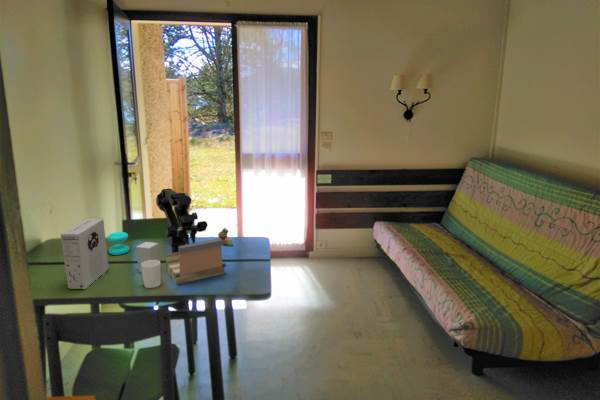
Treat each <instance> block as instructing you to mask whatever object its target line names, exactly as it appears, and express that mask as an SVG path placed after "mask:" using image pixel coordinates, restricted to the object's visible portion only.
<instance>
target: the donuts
mask: <svg viewBox="0 0 600 400" xmlns="http://www.w3.org/2000/svg"><path fill="white" fill-rule="evenodd" d="M106 238H107V239H106V240H107V241H108V242H110V243H113V244H114V243H116V244H114V245H112V246H110V247H109V249H108V253H109V254H110V255H112V256H122V255H125V254H127V253H128V252H130V249H131V248H130V246H129V245H127V244H124V243H122V242H125V241H127V240H128V238H129V234H128V233H127V232H125V231H115V232H112V233H109V234H108V235H107V237H106ZM117 243H118V244H117ZM121 254H122V255H121Z"/></svg>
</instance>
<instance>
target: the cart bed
mask: <svg viewBox="0 0 600 400" xmlns="http://www.w3.org/2000/svg"><path fill="white" fill-rule="evenodd" d="M165 264H166V265H165V266H166V273H167V274H168V275H169V276H170V277H171V278H172V280H173V281H174V283H175V284H176V285H180V284H181V285H182V284H185V283H189V282H190V283H191V282H194V281H198V280H202V279H207V278H211V277H212V278H213V277H214V276H219V275H225V267H227V263H226V262H224V263H223V262H222V266H221V267H216V268H212V269H207V270H203V271H198V272H194V273H189V274H184V275H180V267H179V253H178V252H176V253H172V252H171V253H167V254H165Z"/></svg>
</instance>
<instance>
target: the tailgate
mask: <svg viewBox="0 0 600 400" xmlns="http://www.w3.org/2000/svg"><path fill="white" fill-rule="evenodd" d="M222 246H223V240H222V239H220V238H219V237H218V238H213V239H209V240H204V241H198V242H195V243H193V242H192V243H189V244H186V245H181V246H178V253H179V267H180V275H184V274H189V273H194V272H198V271H203V270H207V269H212V268H216V267H221V266H222V263H223V253H222V252H223V251H222Z"/></svg>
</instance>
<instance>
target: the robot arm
mask: <svg viewBox="0 0 600 400" xmlns="http://www.w3.org/2000/svg"><path fill="white" fill-rule="evenodd" d="M155 203H156V206H157V207H158V209H159V210H160V211H162V212H163V213H164V215H165V217H166V220H167V223H168V226H167V227H166V231H165V236H166V237H167V238H169V239H168V243H169V244H168V245H170V246H171V251H172V252H171V253H176V252H178V246H181V245H187V244H190V241H189V239H191V242H192V243H196V234H197V233H200V232H205V231H206V230H207V228H208V225H209V224H208V222H207V221H205V220H204V221H203V220H202V221H198V222H197V224H194V222H195V220H198V218H199V217H198V214H197V212H196V211H195V212H192V213H191V214H190V213H189V208H190V206H191V203H192V198H191V197H190V196H189V195H187V194H186V193H185V192H176V191H175V190H173V189H172V188H163V189H161V192H160V193H159V194H158V195H157V196H156V199H155ZM174 206H175V207H174ZM173 207H174V208H173ZM188 231H190V235H189V233H188Z"/></svg>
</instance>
